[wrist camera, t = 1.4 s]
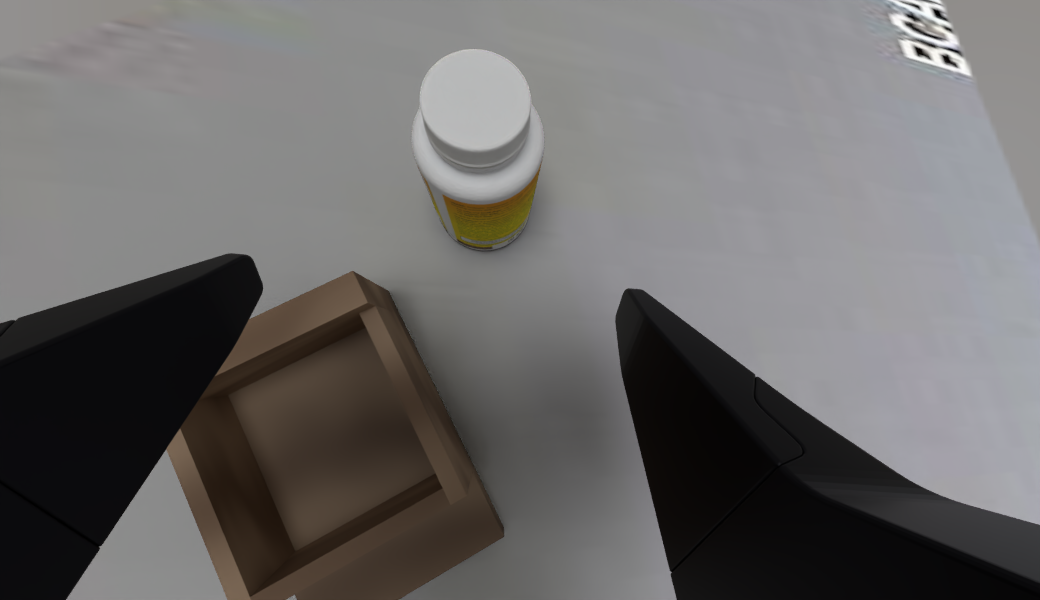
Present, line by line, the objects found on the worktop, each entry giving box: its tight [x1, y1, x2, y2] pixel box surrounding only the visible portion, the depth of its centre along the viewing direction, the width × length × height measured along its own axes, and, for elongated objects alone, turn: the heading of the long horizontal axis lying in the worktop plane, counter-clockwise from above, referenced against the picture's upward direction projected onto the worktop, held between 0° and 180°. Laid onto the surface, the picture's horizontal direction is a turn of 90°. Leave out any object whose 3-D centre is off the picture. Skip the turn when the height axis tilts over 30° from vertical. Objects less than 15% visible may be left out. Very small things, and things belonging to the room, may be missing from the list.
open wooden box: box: [167, 271, 504, 600], centre depth 18 cm, size 15×10×6 cm
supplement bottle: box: [411, 49, 545, 250], centre depth 18 cm, size 6×6×10 cm
